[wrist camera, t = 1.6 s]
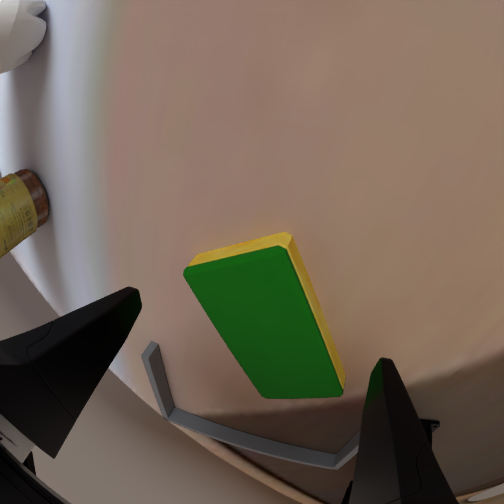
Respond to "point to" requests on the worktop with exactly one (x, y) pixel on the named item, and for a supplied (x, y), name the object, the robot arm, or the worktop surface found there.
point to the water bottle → (19, 31)
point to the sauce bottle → (20, 208)
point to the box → (233, 436)
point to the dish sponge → (269, 317)
